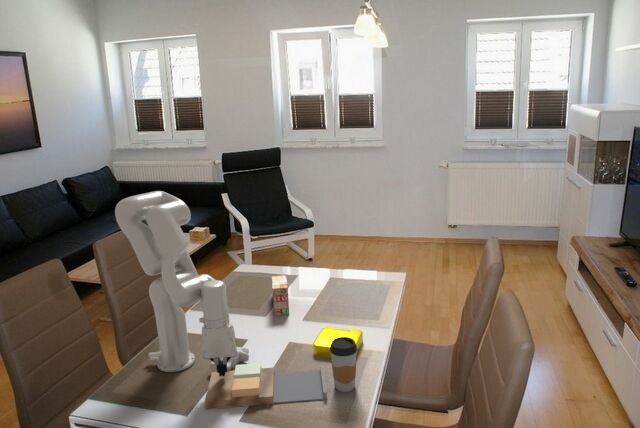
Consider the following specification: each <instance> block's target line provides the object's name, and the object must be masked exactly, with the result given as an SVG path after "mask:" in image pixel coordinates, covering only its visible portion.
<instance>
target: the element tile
mask: <svg viewBox="0 0 640 428" xmlns="http://www.w3.org/2000/svg"><path fill="white" fill-rule="evenodd" d="M363 335H364V334H363V330H361V329H355V328H344V327H335V326H324V327H323V328H322V329H321V330H320V332H319V334H318V335H317V337H316V338H315V340H314V341H313V345H312V347H313V355H314V356H316V357H322V358H330V359H331V352H330V345H331V342H332V340H334V339H336V338H339V337H349V338H352V339H353V340H354V341H355V343H356V345H357V351H356V356H357V355H358V353H359V350H361V346H362V344H363V341H364V340H363V338H364V337H363Z"/></svg>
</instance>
